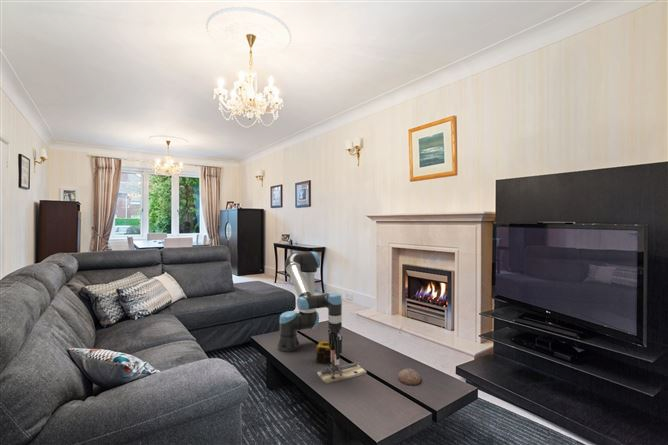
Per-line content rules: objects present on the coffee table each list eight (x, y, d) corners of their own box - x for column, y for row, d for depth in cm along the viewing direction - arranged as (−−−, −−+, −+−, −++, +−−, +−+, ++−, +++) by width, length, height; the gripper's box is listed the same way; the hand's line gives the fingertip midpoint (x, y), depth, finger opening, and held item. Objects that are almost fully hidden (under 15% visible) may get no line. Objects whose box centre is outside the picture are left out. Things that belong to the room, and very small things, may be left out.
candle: (332, 364, 193) (332, 348, 193) (315, 363, 195) (315, 346, 195) (335, 357, 203) (335, 341, 203) (320, 356, 205) (320, 340, 205)
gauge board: (317, 374, 181) (317, 371, 181) (355, 365, 192) (355, 362, 192) (326, 383, 170) (326, 381, 170) (366, 373, 182) (366, 371, 182)
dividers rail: (320, 373, 180) (320, 368, 180) (356, 364, 190) (356, 360, 190) (327, 380, 172) (327, 375, 172) (364, 371, 182) (364, 366, 182)
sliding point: (330, 369, 184) (330, 349, 184) (337, 367, 186) (336, 348, 185) (338, 377, 175) (338, 356, 175) (345, 375, 177) (345, 354, 177)
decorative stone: (412, 388, 166) (412, 377, 166) (393, 380, 175) (393, 369, 175) (425, 380, 174) (425, 370, 174) (406, 372, 183) (406, 363, 183)
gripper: (322, 318, 188) (322, 358, 189) (335, 327, 173) (336, 370, 173) (334, 316, 192) (334, 355, 192) (348, 325, 177) (348, 367, 177)
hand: (335, 362), depth 183 cm, fingers closed on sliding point, 4 cm apart
